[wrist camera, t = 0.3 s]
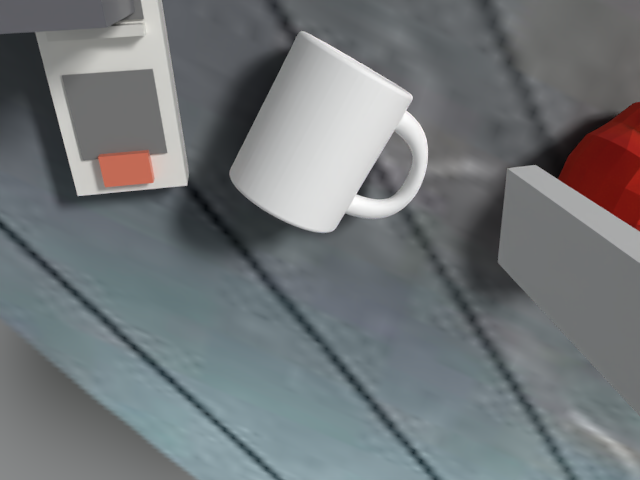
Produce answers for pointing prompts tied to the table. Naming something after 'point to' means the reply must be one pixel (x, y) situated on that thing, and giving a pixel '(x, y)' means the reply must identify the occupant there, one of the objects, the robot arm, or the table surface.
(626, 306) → the robot arm
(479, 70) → the table surface
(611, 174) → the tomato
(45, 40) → the power strip
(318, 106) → the mug
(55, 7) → the block
